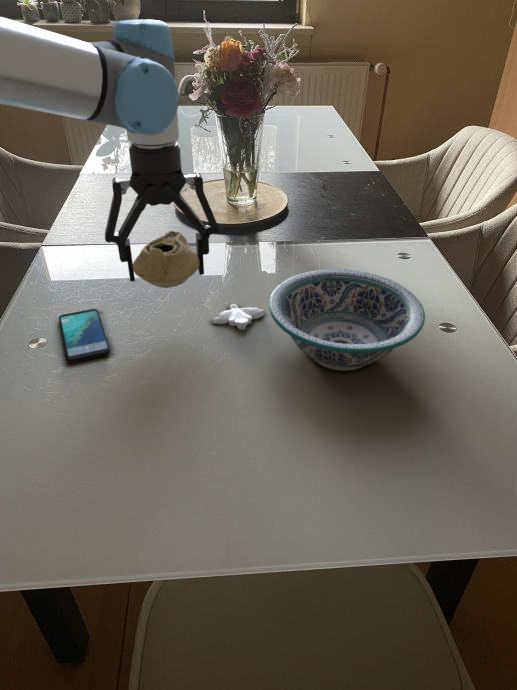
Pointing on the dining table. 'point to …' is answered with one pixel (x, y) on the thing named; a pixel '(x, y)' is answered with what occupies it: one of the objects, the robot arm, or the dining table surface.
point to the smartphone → (83, 335)
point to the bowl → (346, 316)
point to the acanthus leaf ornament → (238, 316)
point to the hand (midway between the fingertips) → (166, 274)
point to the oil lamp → (166, 261)
